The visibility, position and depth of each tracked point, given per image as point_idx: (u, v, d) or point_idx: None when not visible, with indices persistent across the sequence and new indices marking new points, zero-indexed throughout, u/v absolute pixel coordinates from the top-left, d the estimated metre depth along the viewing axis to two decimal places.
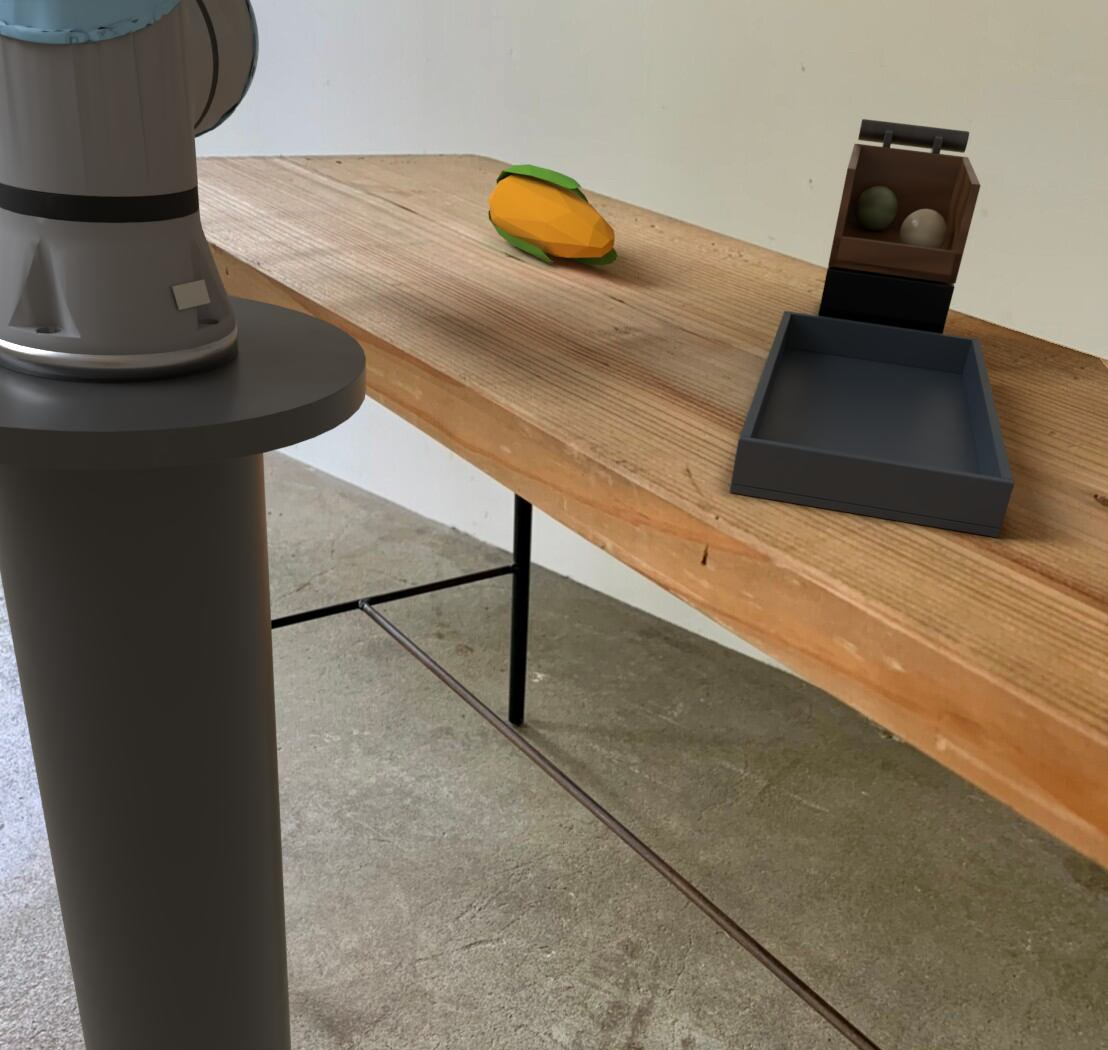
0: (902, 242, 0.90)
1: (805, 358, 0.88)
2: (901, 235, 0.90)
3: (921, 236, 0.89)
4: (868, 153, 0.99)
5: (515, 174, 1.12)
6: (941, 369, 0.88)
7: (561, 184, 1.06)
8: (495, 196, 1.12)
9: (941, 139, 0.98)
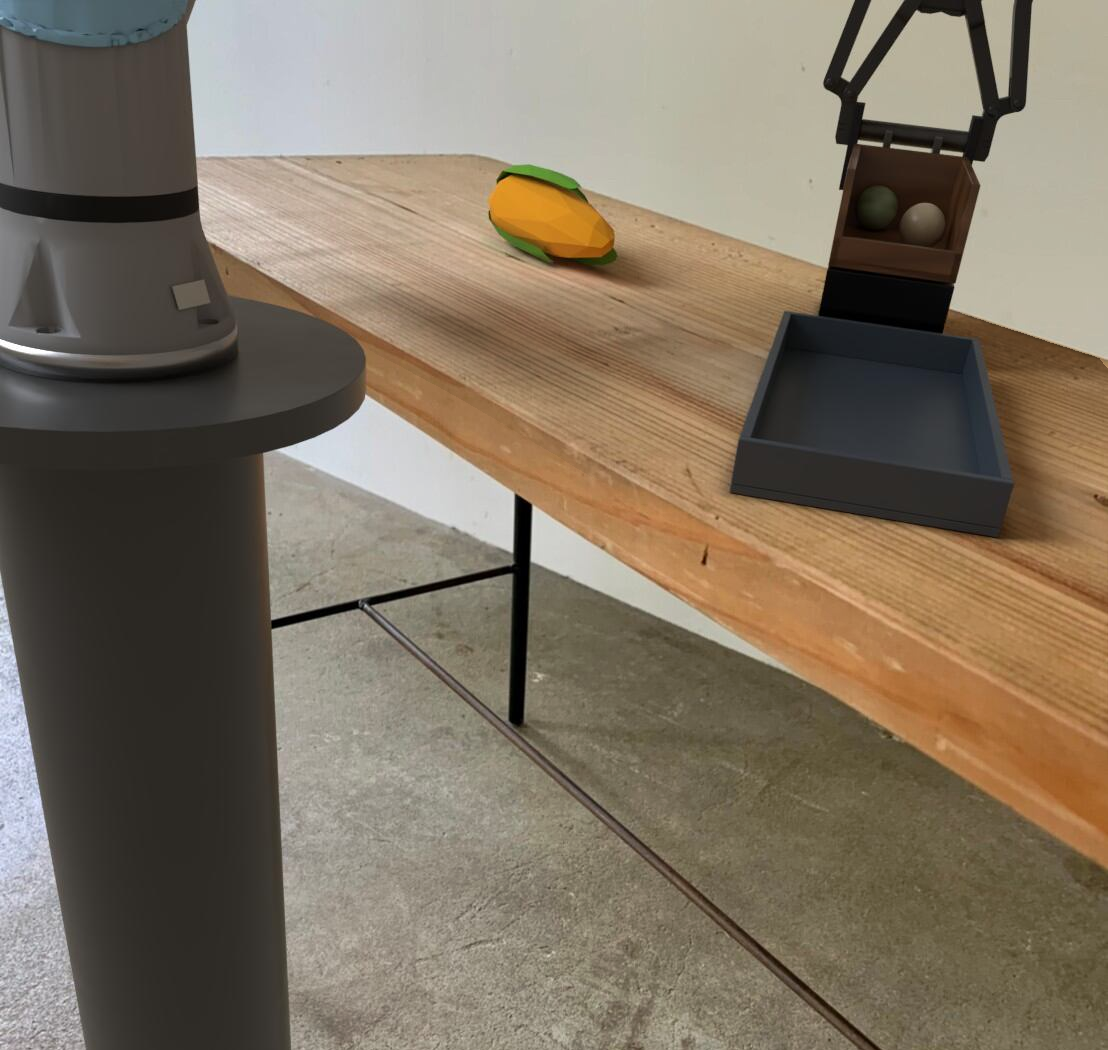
0: (907, 212, 0.92)
1: (805, 358, 0.88)
2: (904, 214, 0.93)
3: None
4: (868, 153, 0.99)
5: (515, 174, 1.12)
6: (941, 369, 0.88)
7: (561, 184, 1.06)
8: (495, 196, 1.12)
9: (941, 139, 0.98)
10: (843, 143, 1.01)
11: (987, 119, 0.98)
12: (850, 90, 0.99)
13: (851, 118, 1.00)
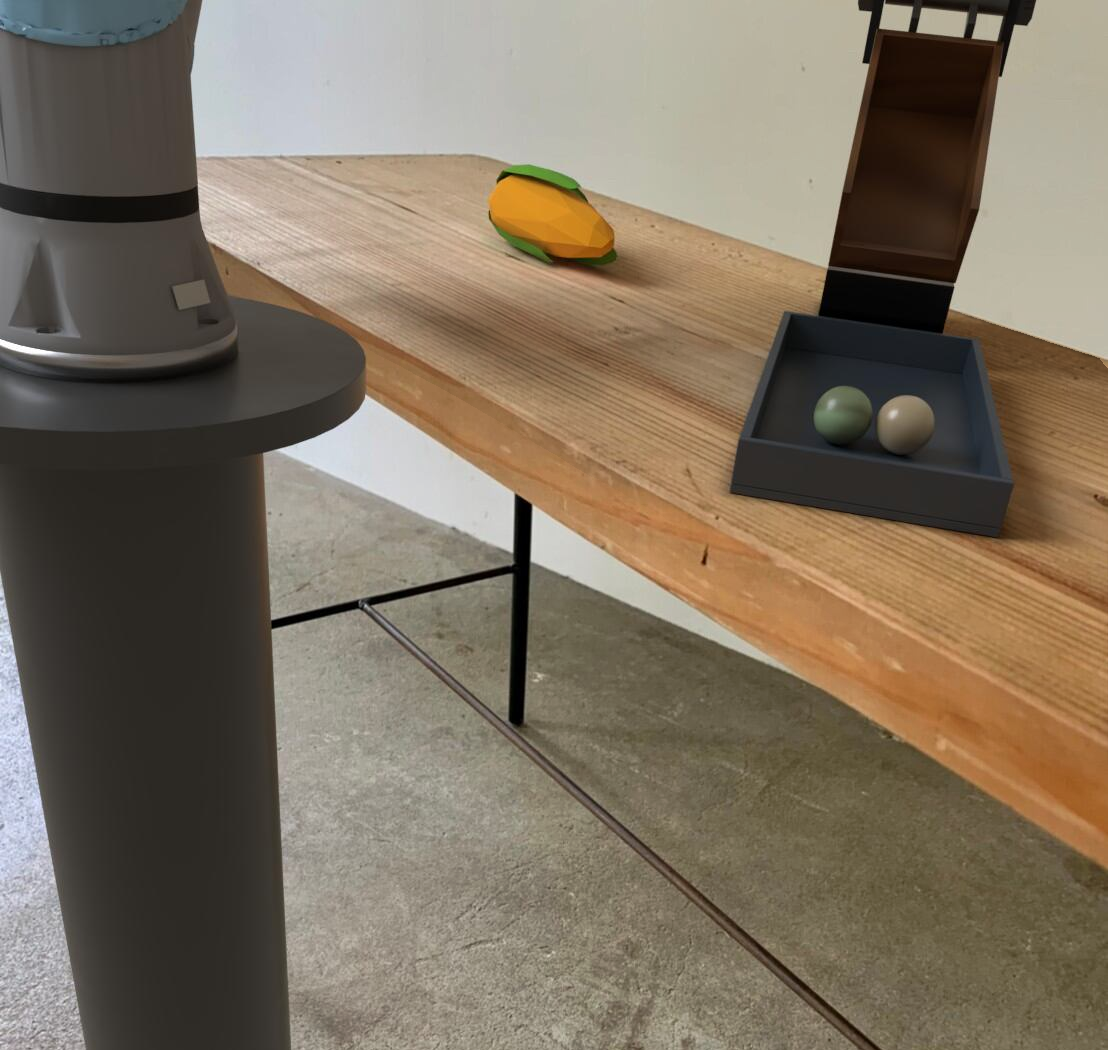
0: (885, 404, 0.70)
1: (805, 358, 0.88)
2: (880, 409, 0.71)
3: None
4: (891, 42, 0.89)
5: (515, 174, 1.12)
6: (941, 369, 0.88)
7: (561, 184, 1.06)
8: (495, 196, 1.12)
9: (973, 23, 0.87)
10: (867, 9, 0.91)
11: None
12: None
13: None
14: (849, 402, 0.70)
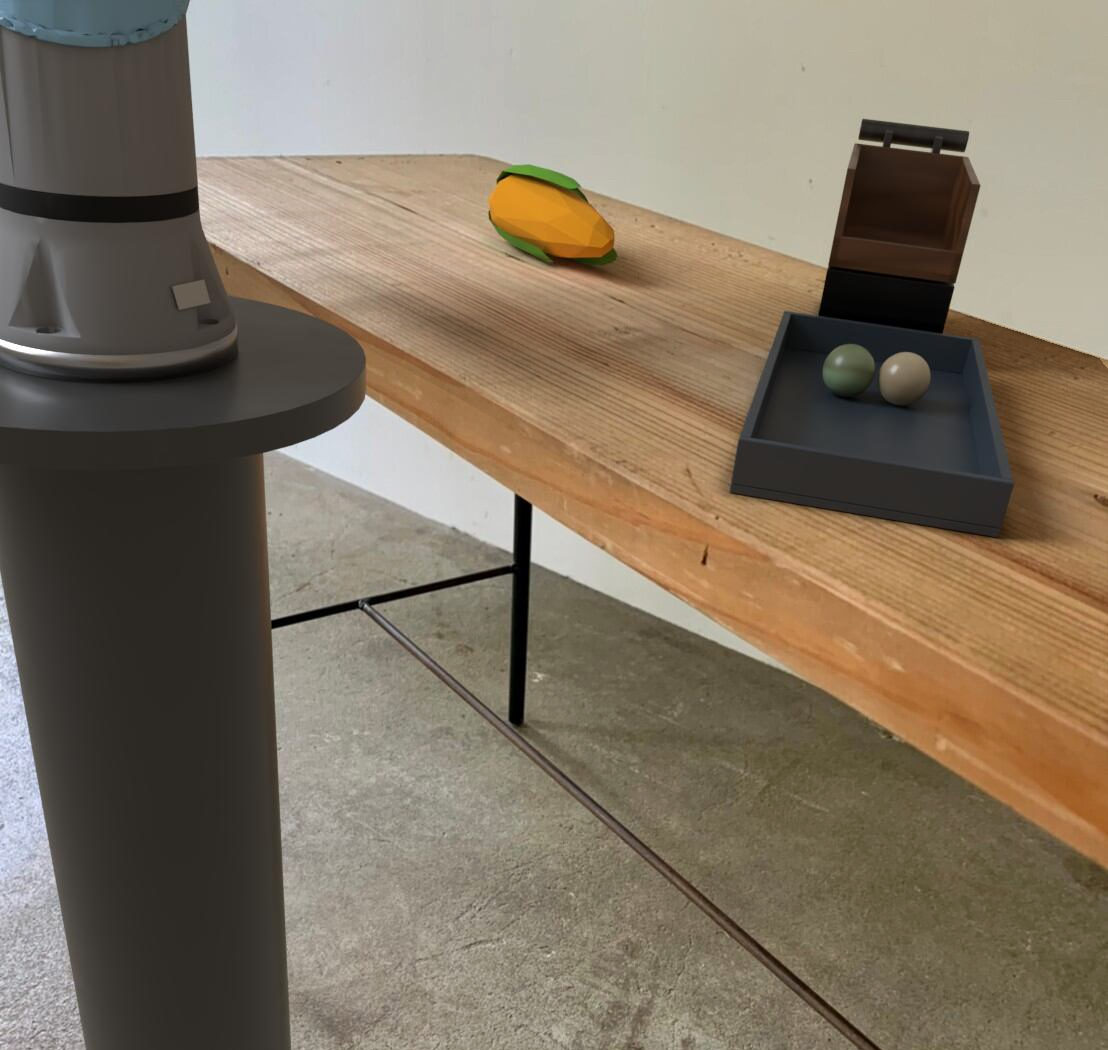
0: (886, 361, 0.79)
1: (805, 358, 0.88)
2: (882, 364, 0.79)
3: None
4: (868, 153, 0.99)
5: (515, 174, 1.12)
6: (941, 369, 0.88)
7: (561, 184, 1.06)
8: (495, 196, 1.12)
9: (941, 139, 0.97)
10: None
11: None
12: None
13: None
14: (853, 363, 0.78)
